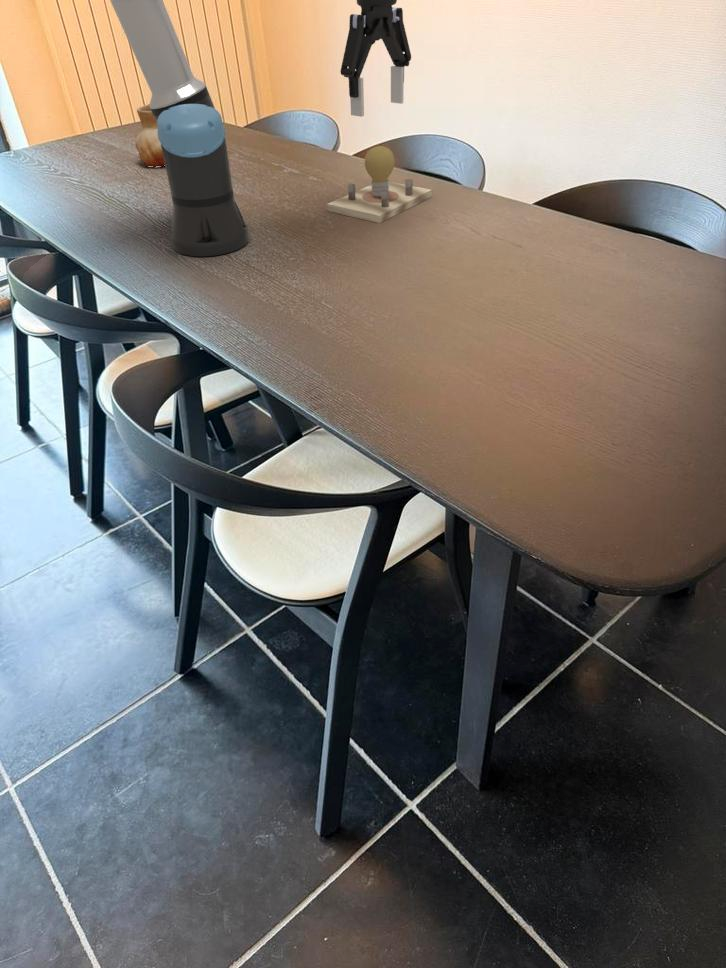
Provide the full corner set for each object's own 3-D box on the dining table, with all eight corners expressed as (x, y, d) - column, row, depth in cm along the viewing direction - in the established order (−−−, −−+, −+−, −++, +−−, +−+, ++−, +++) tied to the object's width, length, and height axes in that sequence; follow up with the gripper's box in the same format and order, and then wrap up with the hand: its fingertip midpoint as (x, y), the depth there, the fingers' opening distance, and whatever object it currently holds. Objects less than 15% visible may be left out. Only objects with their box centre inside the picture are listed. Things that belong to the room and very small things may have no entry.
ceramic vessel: (231, 147, 190) (222, 87, 180) (166, 172, 173) (152, 107, 163) (194, 142, 195) (184, 83, 186) (128, 166, 179) (112, 102, 169)
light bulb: (395, 191, 150) (395, 142, 143) (394, 200, 145) (393, 150, 138) (367, 191, 150) (365, 142, 144) (364, 200, 145) (362, 150, 139)
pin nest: (379, 223, 139) (379, 200, 137) (327, 211, 146) (326, 189, 143) (431, 196, 151) (432, 175, 148) (381, 186, 158) (381, 166, 155)
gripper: (350, -15, 114) (354, 123, 127) (430, -26, 129) (426, 99, 142) (316, -16, 117) (324, 119, 131) (398, -27, 132) (397, 96, 146)
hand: (377, 109), depth 137 cm, fingers open, 13 cm apart
